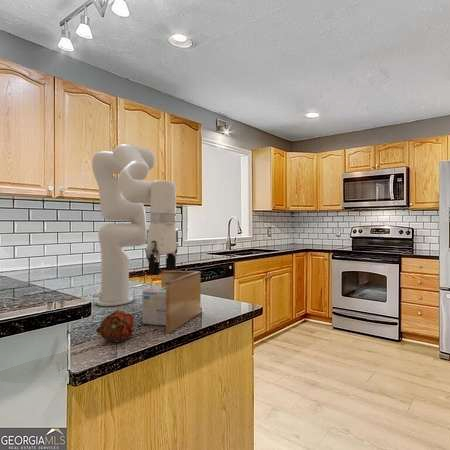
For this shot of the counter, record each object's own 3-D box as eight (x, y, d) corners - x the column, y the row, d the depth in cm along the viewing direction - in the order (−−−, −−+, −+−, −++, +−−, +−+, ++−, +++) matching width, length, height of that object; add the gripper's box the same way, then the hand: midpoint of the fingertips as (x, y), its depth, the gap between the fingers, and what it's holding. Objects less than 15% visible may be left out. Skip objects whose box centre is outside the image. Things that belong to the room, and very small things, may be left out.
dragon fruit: (120, 353, 83) (109, 346, 92) (147, 327, 88) (134, 323, 97) (96, 330, 80) (87, 326, 89) (126, 305, 86) (115, 303, 94)
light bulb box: (184, 320, 106) (184, 287, 106) (172, 326, 100) (172, 291, 99) (155, 318, 108) (155, 286, 108) (141, 324, 102) (141, 290, 102)
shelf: (125, 330, 96) (124, 280, 96) (163, 311, 116) (163, 270, 116) (170, 332, 94) (169, 282, 94) (201, 313, 114) (200, 271, 114)
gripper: (166, 218, 113) (166, 267, 113) (135, 219, 96) (134, 276, 96) (187, 219, 112) (186, 268, 112) (158, 219, 95) (158, 277, 95)
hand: (162, 272), depth 104 cm, fingers open, 9 cm apart
